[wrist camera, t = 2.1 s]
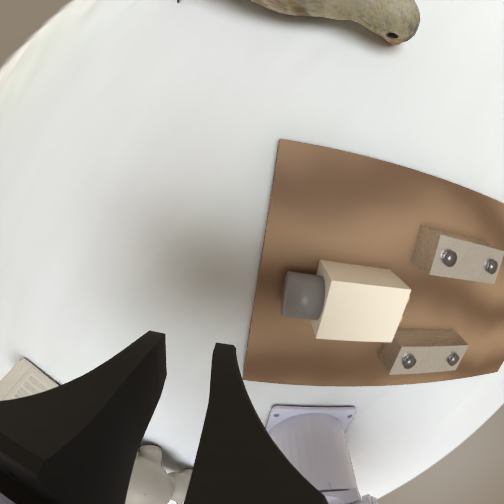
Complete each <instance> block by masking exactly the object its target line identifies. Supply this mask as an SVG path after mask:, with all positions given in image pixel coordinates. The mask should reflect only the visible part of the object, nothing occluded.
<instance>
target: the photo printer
mask: <svg viewBox="0 0 504 504" xmlns="http://www.w3.org/2000/svg"><path fill="white" fill-rule="evenodd" d="M58 386H59V385H57V384H56V383H55V382H54V381H52V380H51V379H50V378H48V377H47V376H46V375H45V374H43V373H42V372H41V371H40V370H39V369H37V368H36V367H35V366H34V365H33V364H31V363H30V362H29V361H27V360H26V359H24V358H23V359H21V360H20V361H19V362H18V363H17V364H16V365H15V366H14V367H13V368H12V369H11V370H10V371H9V373H8V374H7V375H6V376H5V377H4V378H3V379H2V380H1V381H0V401H3V400H11V399H16V398H21V397H26V396H30V395H34V394H37V393H41V392H44V391H47V390H49V389H52V388H55V387H58Z"/></svg>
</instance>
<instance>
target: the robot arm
mask: <svg viewBox="0 0 504 504" xmlns="http://www.w3.org/2000/svg"><path fill="white" fill-rule="evenodd" d="M166 376H167V370H166V345H165V334H164V333H159V332H154V331H148V332H147V333H146V334H144V335H143V336H141V337H140V338H139V339H137V340H136V341H135V342H133V343H132V344H131V345H129V346H128V347H127V348H125V349H124V350H122V351H121V352H120V353H118V354H117V355H115V356H114V357H112V358H111V359H109V360H108V361H106V362H105V363H103V364H102V365H100V366H98V367H97V368H95V369H93V370H92V371H90V372H88V373H86V374H84V375H83V376H81V377H79V378H76V379H74V380H72V381H70V382H68V383H66V384H63V385H60V386H58V387H55V388H52V389H49V390H47V391H44V392H41V393H37V394H34V395H30V396H26V397H21V398H16V399H11V400H3V401H0V504H125V501H126V496H127V491H128V487H129V482H130V478H131V474H132V470H133V466H134V463H135V459H136V455H137V452H138V449H139V446H140V443H141V441H142V438H143V436H144V434H145V431H146V429H147V427H148V424H149V422H150V420H151V417H152V415H153V413H154V411H155V408H156V406H157V404H158V401H159V399H160V396H161V393H162V390H163V386H164V383H165V379H166ZM356 412H357V411H356V408H355V407H293V406H274V407H273V408H272V410H271V413H270V416H269V420H268V423H267V426H266V429H265V427H264V425H263V424H262V422H261V420H260V419H259V417H258V415H257V413H256V411H255V409H254V407H253V405H252V403H251V400H250V398H249V396H248V394H247V391H246V388H245V386H244V383H243V380H242V377H241V374H240V370H239V366H238V362H237V356H236V348H235V346H234V345H229V344H222V343H216V345H215V348H214V351H213V355H212V368H211V381H210V395H209V403H208V408H207V412H206V417H205V421H204V426H203V430H202V434H201V438H200V443H199V447H198V451H197V455H196V459H195V463H194V467H193V471H192V474H191V478H190V482H189V485H188V489H187V493H186V497H185V500H184V504H378V502H377V498H375V497H373V496H370V495H369V494H367V495H364V496H362V498H361V496H360V494H359V491H358V488H357V484H356V479H355V475H354V471H353V467H352V463H351V458H350V454H349V450H348V446H347V442H346V438H345V435H344V433H345V431H346V429H347V428H348V426H349V424H350V423H351V421H352V419H353V417H354V416H355V414H356Z"/></svg>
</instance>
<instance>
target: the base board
mask: <svg viewBox="0 0 504 504" xmlns="http://www.w3.org/2000/svg"><path fill="white" fill-rule="evenodd" d="M420 225H422V226H426V227H430V228H434V229H438V230H442V231H446V232H450V233H454V234H458V235H462V236H466V237H470V238H473V239H477V240H481V241H484V242H487V243H489V244H491V245H493V246H495V247H497V248H499V249H501V250H503V251H504V204H503V203H501V202H499V201H497V200H494V199H492V198H490V197H487V196H485V195H482V194H480V193H478V192H475V191H473V190H470V189H468V188H465V187H462V186H460V185H457V184H454V183H452V182H449V181H446V180H443V179H440V178H437V177H435V176H432V175H429V174H425V173H422V172H419V171H416V170H413V169H410V168H406V167H403V166H400V165H396V164H393V163H389V162H386V161H382V160H378V159H374V158H370V157H367V156H363V155H358V154H354V153H350V152H346V151H341V150H337V149H332V148H327V147H323V146H318V145H312V144H307V143H302V142H296V141H290V140H284V139H280V140H279V144H278V150H277V157H276V164H275V171H274V178H273V184H272V191H271V198H270V204H269V211H268V218H267V224H266V231H265V237H264V244H263V250H262V257H261V263H260V270H259V276H258V282H257V289H256V295H255V301H254V307H253V314H252V320H251V326H250V332H249V338H248V344H247V351H246V357H245V363H244V369H243V378H242V380H248V381H257V382H268V383H279V384H293V385H311V386H385V385H403V384H416V383H427V382H437V381H445V380H453V379H460V378H466V377H472V376H478V375H484V374H489V373H494V372H498V370H499V368H500V366H501V365H502V363H503V361H504V255H503V259H502V262H501V266H500V269H499V272H498V275H497V278H496V281H495V284H491V283H484V282H477V281H470V280H463V279H456V278H448V277H441V276H434V275H429V274H428V273H426V272H425V271H424V270H422V269H421V268H420V267H418V266H417V265H416V264H414V263H413V262H412V261H411V260H412V256H413V253H414V249H415V245H416V241H417V237H418V233H419V229H420ZM320 260H325V261H332V262H340V263H347V264H354V265H361V266H368V267H375V268H383V269H390V270H391V271H392V272H393V273H394V274H395V275H396V276H398V277H399V278H400V279H401V280H402V281H403V282H404V283H405V284H406V285H407V286H408V287H409V288H410V289H411V292H410V295H409V297H410V299H409V301H408V303H407V304H406V307H405V309H404V312H403V315H402V317H403V318H402V320H401V322H400V323H399V325H398V328H413V329H454V330H455V331H456V332H457V333H458V334H459V335H460V336H461V337H462V338H463V339H464V340H465V341H466V342H467V344H468V345H469V346H468V348H467V350H466V352H465V354H464V355H463V357H462V359H461V361H460V363H459V365H458V367H457V368H456V370H452V371H443V372H432V373H418V374H400V375H388V373H387V371H386V369H385V367H384V365H383V364H382V362H381V360H380V358H379V356H378V353H379V351H380V348H381V346H382V343H383V342H364V341H344V340H328V339H316V337H315V334H314V331H313V327H312V324H311V320H310V319H302V318H292V317H283V316H281V295H282V288H283V283H284V279H285V275H286V273H287V271H290V272H297V273H305V274H313V275H317V270H318V266H319V261H320Z"/></svg>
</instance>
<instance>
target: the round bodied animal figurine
mask: <svg viewBox="0 0 504 504" xmlns="http://www.w3.org/2000/svg"><path fill="white" fill-rule="evenodd" d="M161 461H162V450H161V449H160V448H159V447H158V446H154V445H144V446H141V448H140V452H137V455H136V459H135V463H134V466H133V470H132V474H131V478H130V482H129V487H128V491H127V496H126V501H125V504H167V503H168V502H169V501H170V499H171V500H173V501H176V503H177V504H182V502H183V501H184V500H185V497H186V493H187V489H188V485H189V482H190V478H191V474H192V471H193V469H185V470H183V471H182V472H180V473H179V472H171V473H167V472H166V471H165V470H164V469H163V468H162V466H161Z"/></svg>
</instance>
